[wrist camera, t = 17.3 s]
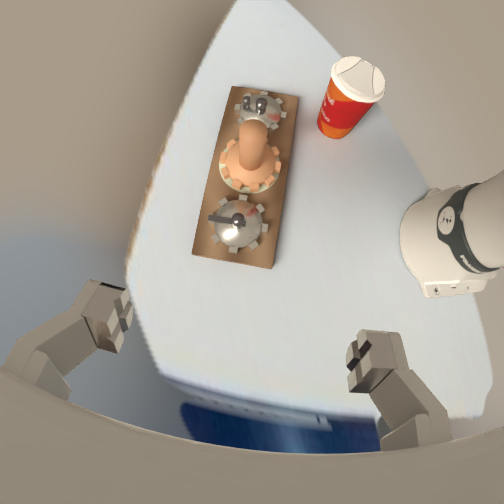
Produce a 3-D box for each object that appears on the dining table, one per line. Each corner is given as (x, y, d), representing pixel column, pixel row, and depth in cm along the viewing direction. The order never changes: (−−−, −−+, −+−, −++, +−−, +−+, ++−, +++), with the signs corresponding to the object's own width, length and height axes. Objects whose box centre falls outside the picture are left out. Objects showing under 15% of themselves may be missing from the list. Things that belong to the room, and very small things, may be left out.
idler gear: (283, 144, 42) (294, 108, 32) (274, 197, 41) (285, 170, 31) (227, 135, 42) (224, 96, 32) (214, 186, 41) (208, 157, 31)
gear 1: (288, 100, 43) (291, 86, 40) (281, 140, 42) (285, 127, 39) (239, 91, 43) (240, 77, 39) (229, 131, 42) (229, 118, 38)
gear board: (296, 102, 45) (298, 96, 43) (270, 269, 42) (272, 268, 40) (231, 91, 45) (231, 85, 43) (193, 255, 41) (191, 253, 40)
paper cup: (321, 99, 45) (344, 45, 31) (360, 121, 45) (394, 74, 31) (302, 129, 44) (324, 76, 30) (344, 153, 44) (379, 108, 30)
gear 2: (271, 202, 41) (274, 194, 38) (262, 258, 40) (264, 255, 37) (215, 192, 41) (213, 184, 37) (203, 248, 40) (200, 244, 36)
